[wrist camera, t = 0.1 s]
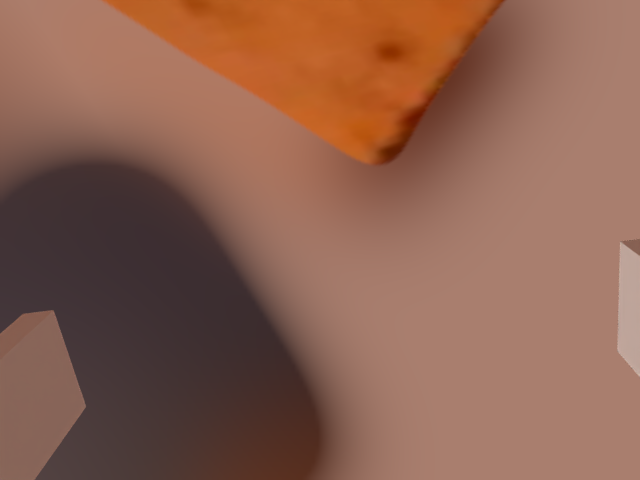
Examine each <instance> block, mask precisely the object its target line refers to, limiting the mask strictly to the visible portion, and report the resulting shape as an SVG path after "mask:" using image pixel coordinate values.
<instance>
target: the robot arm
mask: <svg viewBox="0 0 640 480" xmlns="http://www.w3.org/2000/svg"><path fill="white" fill-rule="evenodd" d="M618 352H619V353H620V354H621V355H622V357H623V358H624V359H625V360H626V362H627V363H628V364H629V365H630V366H631V367H632V369H633V370H634V371H635V372H636V373H637V374H638V375H639V376H640V239H637V240H629V241H621V242H620V271H619V311H618ZM85 407H86V405H85V402H84V399H83V396H82V393H81V390H80V387H79V384H78V381H77V379H76V376H75V373H74V370H73V367H72V364H71V361H70V358H69V355H68V352H67V349H66V346H65V343H64V340H63V338H62V334H61V331H60V328H59V325H58V323H57V320H56V317H55V314H54V311H53V310H52V311H44V312H36V313H27V314H23V315H22V316H20V317H19V318H18V319H17V320H16V321H15V322H13V323H12V324H11V325H10V326H9V327H8V328H6V329H5V330H4V331H3V332H2V333H1V334H0V480H34V479H35V478H36V477H37V475H38V474H39V472H40V471H41V470H42V468H43V467H44V465H45V464H46V462H47V461H48V460H49V458H50V457H51V455H52V454H53V453H54V451H55V450H56V448H57V447H58V445H59V444H60V443H61V441H62V440H63V438H64V437H65V436H66V434H67V433H68V431H69V430H70V429H71V427H72V426H73V424H74V423H75V421H76V420H77V418H78V417H79V416H80V414H81V413H82V412H83V410H84V409H85Z"/></svg>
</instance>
